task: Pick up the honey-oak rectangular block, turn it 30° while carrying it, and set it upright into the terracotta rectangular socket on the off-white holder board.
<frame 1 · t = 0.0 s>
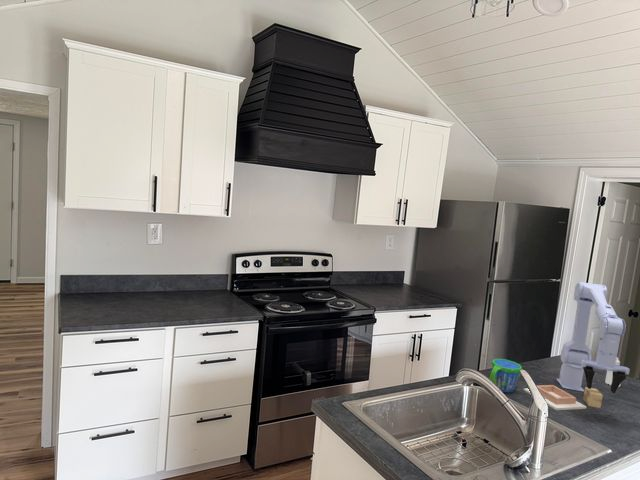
hand: (600, 389, 159), 10 cm above the counter, tool pointing down, fingers open, 7 cm apart
snack cup: (502, 389, 177), on the counter
eye dropper bottle: (612, 385, 195), on the counter
oak key block: (591, 403, 172), on the counter
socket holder: (553, 399, 172), on the counter
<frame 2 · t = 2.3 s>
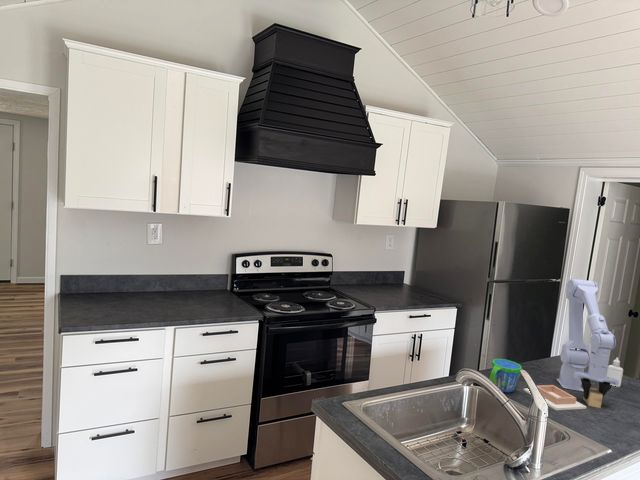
hand: (592, 399, 172), 2 cm above the counter, tool pointing down, fingers closed on oak key block, 4 cm apart
oak key block: (591, 403, 172), on the counter, touching gripper
everything else where it was.
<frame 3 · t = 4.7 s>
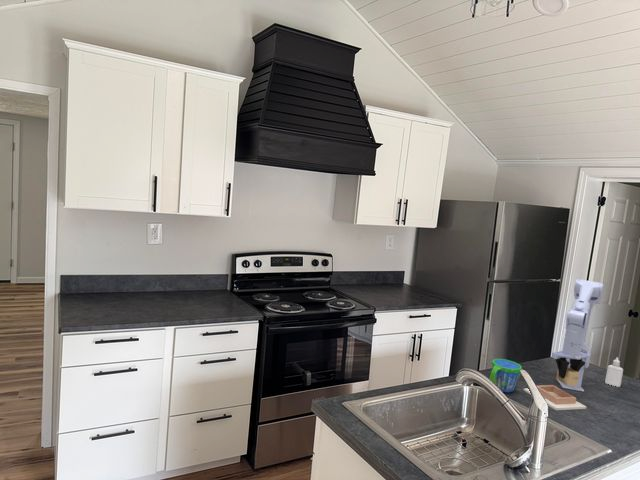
hand: (566, 377, 171), 9 cm above the counter, tool pointing down, fingers closed on oak key block, 4 cm apart
oak key block: (566, 382, 171), point 7 cm above the counter, touching gripper
everything else where it was.
when the fingers open (4 cm above the counter, at t = 7.1 s): oak key block drops 1 cm, resting on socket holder.
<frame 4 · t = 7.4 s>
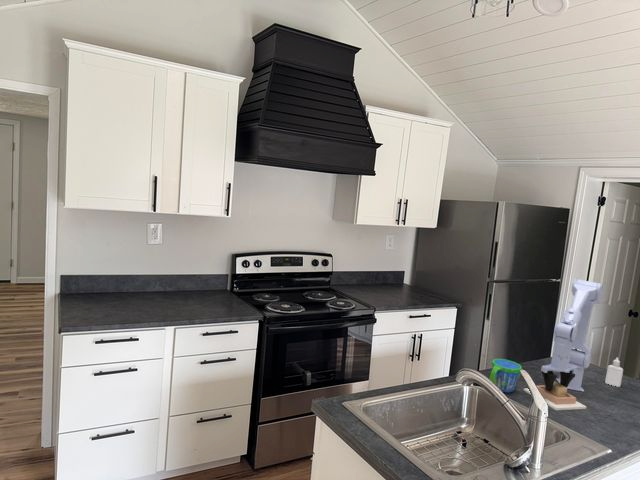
hand: (555, 390, 172), 4 cm above the counter, tool pointing down, fingers open, 6 cm apart
oak key block: (554, 397, 172), point 1 cm above the counter, touching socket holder
everything else where it was.
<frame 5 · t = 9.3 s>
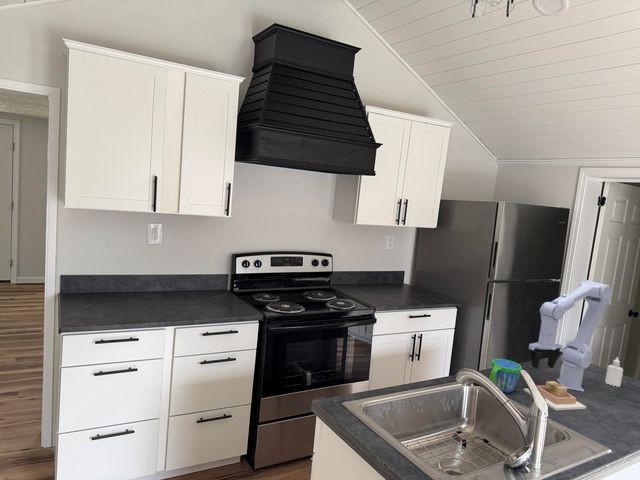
hand: (542, 367, 178), 9 cm above the counter, tool pointing down, fingers open, 7 cm apart
nothing on the counter moved.
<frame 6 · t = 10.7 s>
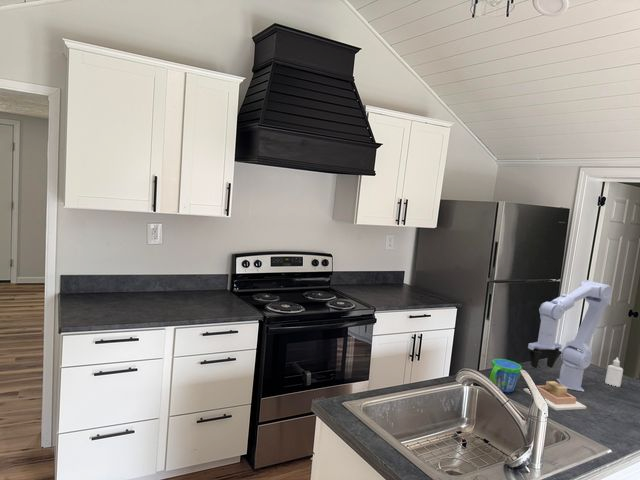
hand: (541, 366, 179), 9 cm above the counter, tool pointing down, fingers open, 7 cm apart
nothing on the counter moved.
at the end: oak key block 0.1 cm off-centre on the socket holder, point 0.8 cm above the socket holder's base; oak key block tilted 0°; the gripper is holding nothing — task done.
